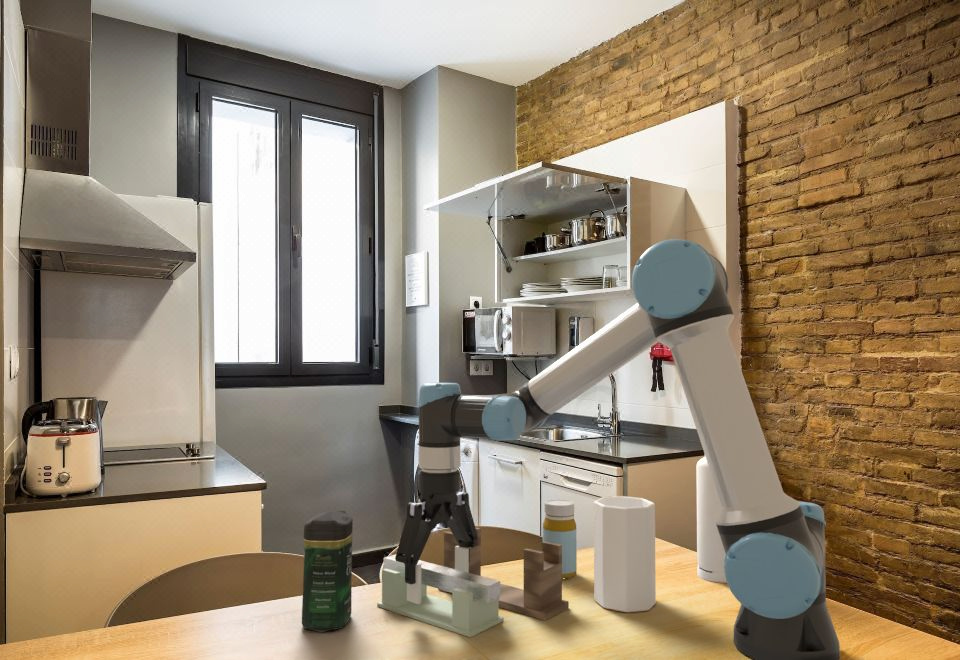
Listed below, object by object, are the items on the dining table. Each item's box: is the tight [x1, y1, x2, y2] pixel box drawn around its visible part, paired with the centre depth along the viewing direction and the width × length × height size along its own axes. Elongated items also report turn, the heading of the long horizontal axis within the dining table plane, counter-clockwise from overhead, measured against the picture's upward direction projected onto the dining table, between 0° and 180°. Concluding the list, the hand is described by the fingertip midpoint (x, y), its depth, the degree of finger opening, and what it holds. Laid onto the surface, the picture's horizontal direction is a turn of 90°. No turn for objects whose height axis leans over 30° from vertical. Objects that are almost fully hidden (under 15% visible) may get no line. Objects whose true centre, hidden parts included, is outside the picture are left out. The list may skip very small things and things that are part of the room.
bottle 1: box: [542, 498, 578, 579], centre depth 144 cm, size 7×7×15 cm
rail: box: [383, 553, 501, 603], centre depth 122 cm, size 25×3×3 cm, turn 51°
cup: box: [593, 495, 657, 614], centre depth 128 cm, size 11×11×18 cm
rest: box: [376, 568, 504, 638], centre depth 122 cm, size 22×9×7 cm, turn 51°
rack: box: [438, 526, 570, 621], centre depth 130 cm, size 25×8×11 cm, turn 51°
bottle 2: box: [695, 456, 727, 584], centre depth 143 cm, size 8×8×28 cm
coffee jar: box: [301, 509, 354, 633], centre depth 118 cm, size 10×8×19 cm
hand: (438, 592), depth 122 cm, fingers open, 12 cm apart
